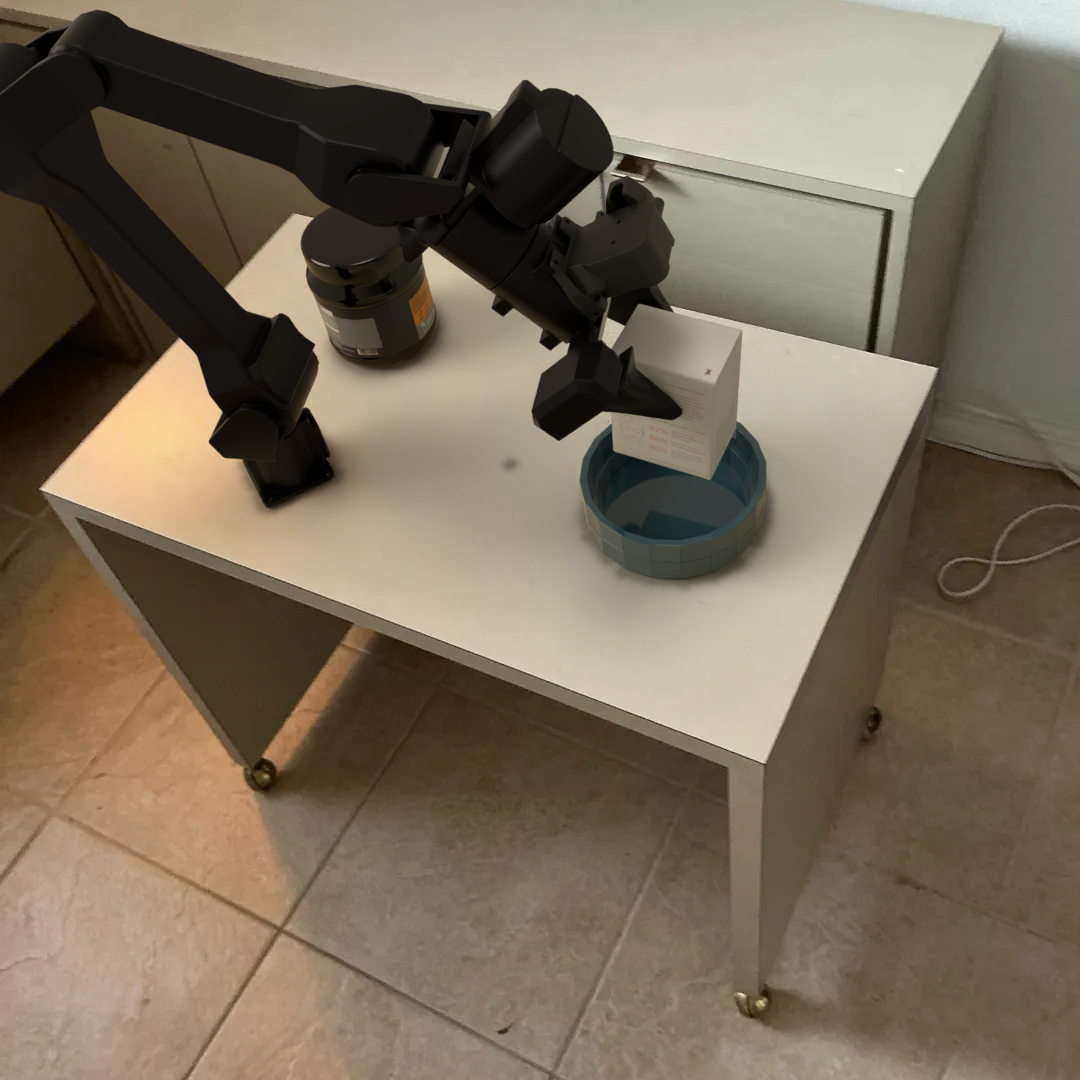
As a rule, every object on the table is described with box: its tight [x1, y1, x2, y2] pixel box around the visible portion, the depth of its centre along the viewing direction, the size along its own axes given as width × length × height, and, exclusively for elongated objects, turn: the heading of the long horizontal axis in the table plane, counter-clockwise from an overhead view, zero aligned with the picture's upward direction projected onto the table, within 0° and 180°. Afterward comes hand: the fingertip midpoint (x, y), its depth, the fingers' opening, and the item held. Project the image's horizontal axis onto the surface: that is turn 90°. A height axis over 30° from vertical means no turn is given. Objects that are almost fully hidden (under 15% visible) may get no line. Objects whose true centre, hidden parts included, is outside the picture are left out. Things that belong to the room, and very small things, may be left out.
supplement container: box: [299, 206, 439, 368], centre depth 102 cm, size 10×10×12 cm
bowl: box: [579, 420, 768, 579], centre depth 88 cm, size 14×14×4 cm
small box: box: [610, 304, 743, 480], centre depth 81 cm, size 8×6×10 cm
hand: (683, 381), depth 80 cm, fingers closed on small box, 6 cm apart
